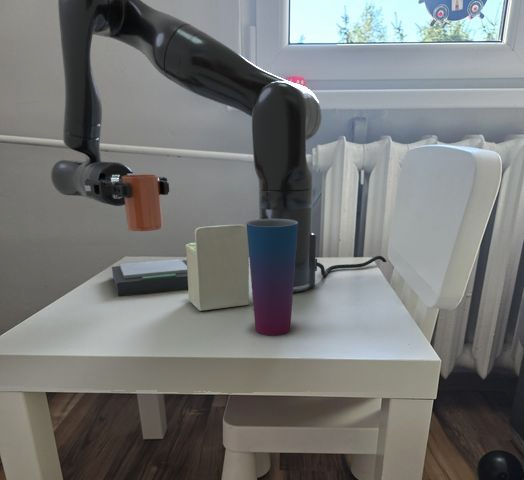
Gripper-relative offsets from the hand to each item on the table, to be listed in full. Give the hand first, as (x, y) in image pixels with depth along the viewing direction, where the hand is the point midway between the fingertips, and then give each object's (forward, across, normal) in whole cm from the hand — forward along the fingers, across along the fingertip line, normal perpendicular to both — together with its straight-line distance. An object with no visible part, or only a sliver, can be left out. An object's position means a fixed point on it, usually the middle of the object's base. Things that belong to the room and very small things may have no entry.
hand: (148, 189), depth 81 cm
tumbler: (-2, 0, +6) cm, 7 cm away
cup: (+26, +5, +18) cm, 32 cm away
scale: (-8, +4, +18) cm, 20 cm away
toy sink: (+11, +6, +18) cm, 22 cm away
